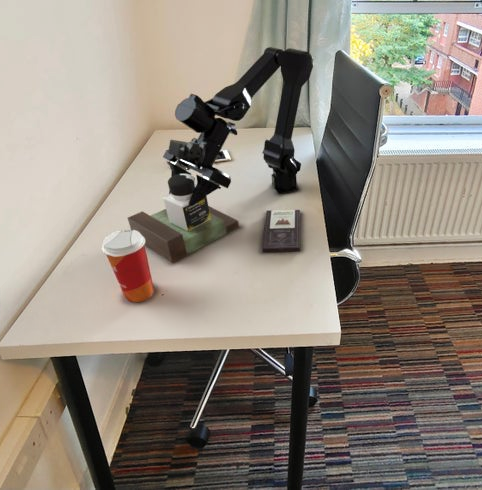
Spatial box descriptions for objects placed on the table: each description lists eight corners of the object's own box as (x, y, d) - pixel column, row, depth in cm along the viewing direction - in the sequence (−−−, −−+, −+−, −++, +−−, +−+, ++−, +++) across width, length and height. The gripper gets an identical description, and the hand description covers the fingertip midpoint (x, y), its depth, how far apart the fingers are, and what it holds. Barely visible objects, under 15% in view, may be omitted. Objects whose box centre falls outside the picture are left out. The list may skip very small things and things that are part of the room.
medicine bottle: (188, 232, 105) (178, 187, 98) (169, 222, 108) (157, 178, 101) (211, 219, 110) (203, 175, 103) (192, 210, 113) (183, 167, 106)
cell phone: (178, 157, 148) (178, 155, 148) (226, 151, 154) (226, 149, 154) (180, 167, 143) (180, 165, 142) (231, 160, 148) (230, 158, 148)
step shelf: (200, 207, 123) (196, 188, 119) (239, 227, 115) (236, 207, 112) (133, 238, 109) (127, 217, 106) (172, 263, 102) (167, 241, 98)
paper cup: (127, 282, 96) (108, 228, 88) (163, 281, 96) (148, 227, 88) (114, 307, 89) (93, 251, 81) (153, 305, 90) (136, 250, 82)
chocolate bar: (262, 248, 106) (266, 210, 120) (262, 252, 106) (266, 213, 121) (299, 247, 106) (299, 209, 121) (300, 250, 107) (299, 212, 122)
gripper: (161, 115, 102) (129, 175, 102) (212, 135, 94) (178, 201, 93) (195, 138, 112) (166, 192, 111) (245, 158, 103) (214, 217, 102)
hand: (180, 200), depth 104 cm, fingers closed on medicine bottle, 7 cm apart
